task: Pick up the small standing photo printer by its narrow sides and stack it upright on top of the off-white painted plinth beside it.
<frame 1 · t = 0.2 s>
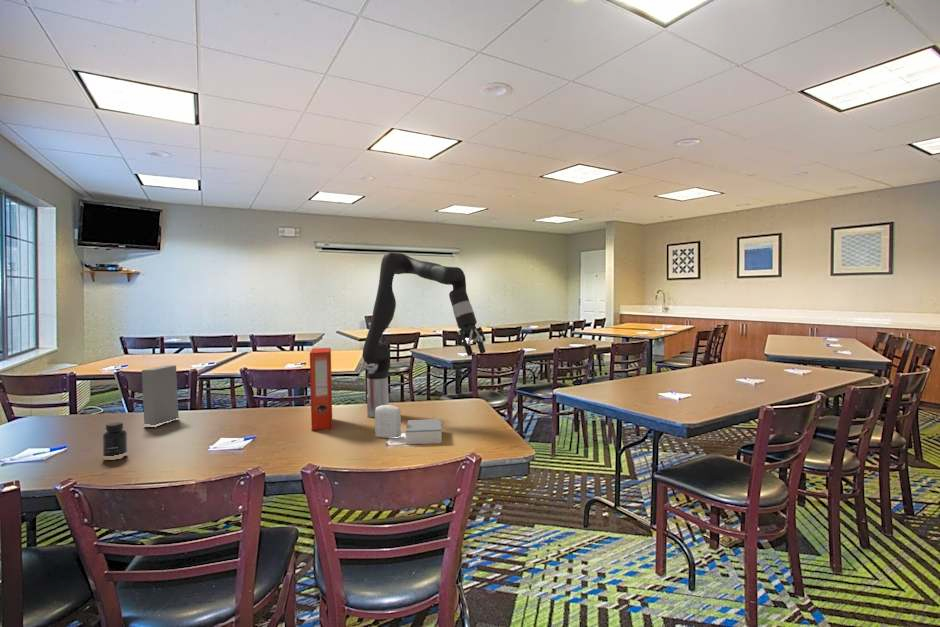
hand: (476, 354, 186), 31 cm above the table, tool tilted 20°, fingers open, 8 cm apart
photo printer: (388, 437, 186), on the table
file binder: (322, 425, 206), on the table
supplement bottle: (115, 458, 168), on the table
grey upright panel: (161, 424, 213), on the table
plinth: (424, 437, 184), on the table
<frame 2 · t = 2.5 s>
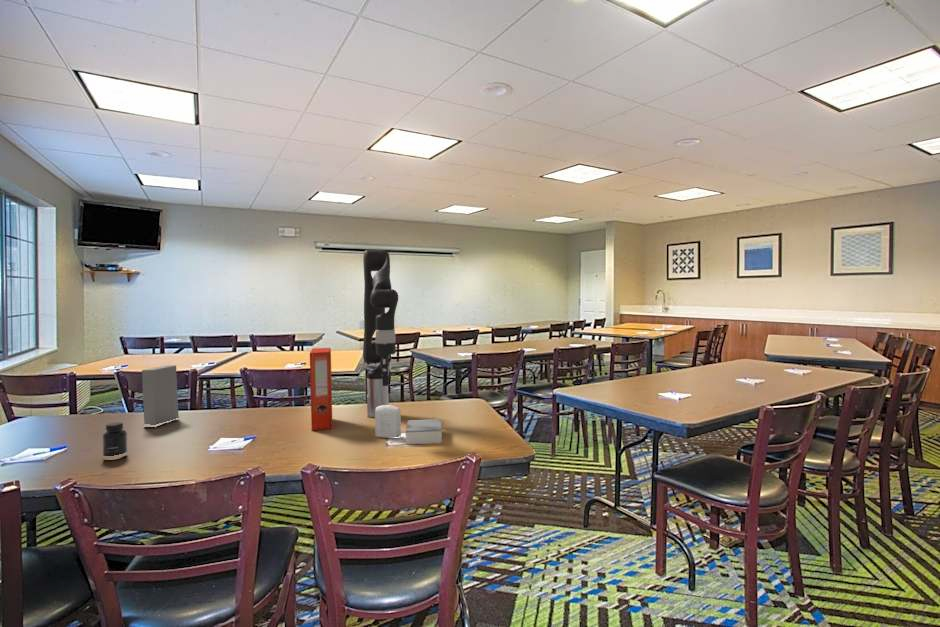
hand: (386, 383, 185), 21 cm above the table, tool pointing down, fingers open, 8 cm apart
nothing on the table moved.
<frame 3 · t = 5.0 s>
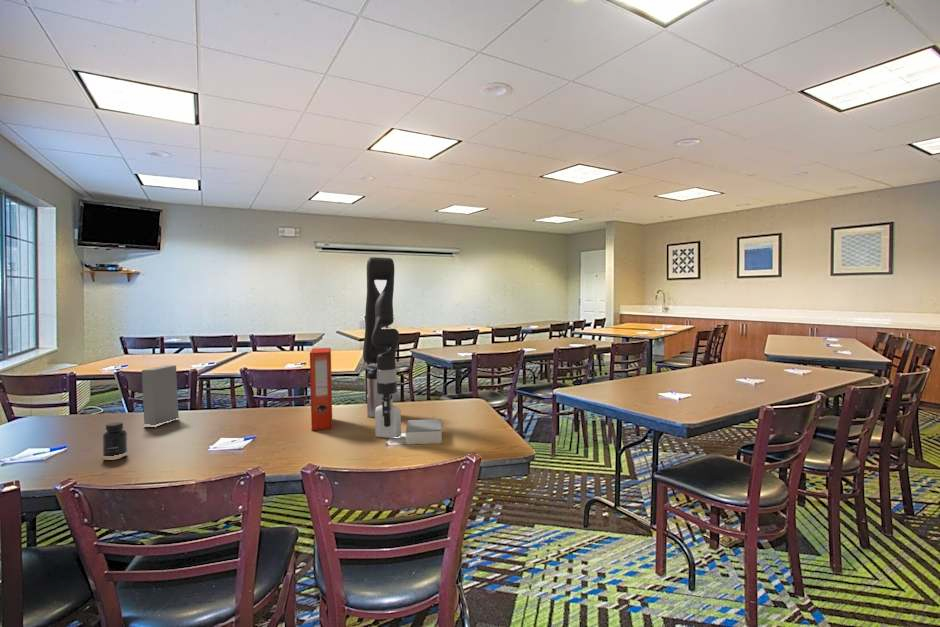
hand: (388, 424, 186), 5 cm above the table, tool pointing down, fingers closed on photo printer, 5 cm apart
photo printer: (388, 437, 186), on the table, touching gripper
everything else where it was.
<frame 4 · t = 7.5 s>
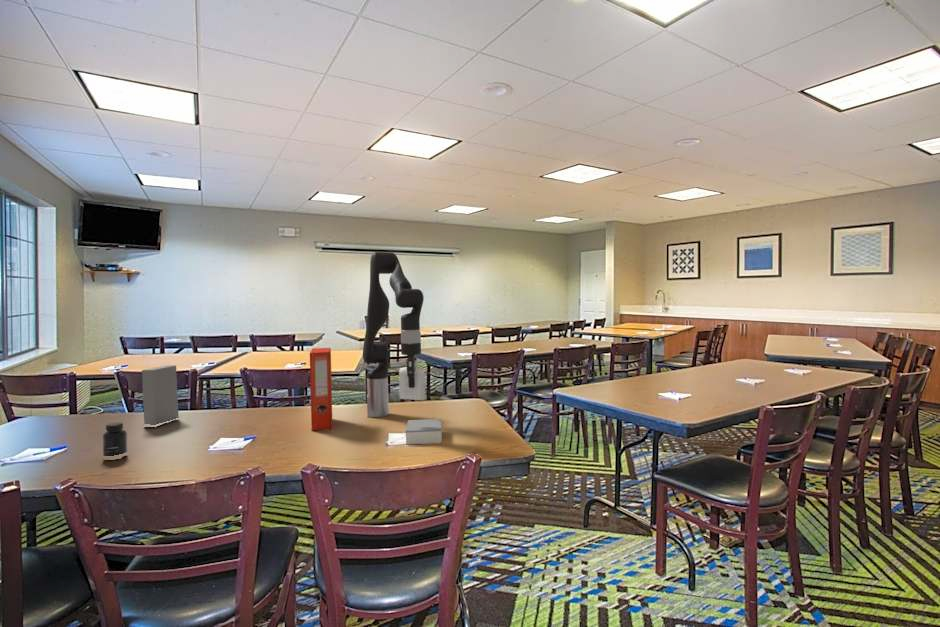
hand: (412, 385, 183), 20 cm above the table, tool pointing down, fingers closed on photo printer, 5 cm apart
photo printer: (412, 399, 183), point 15 cm above the table, touching gripper
everything else where it was.
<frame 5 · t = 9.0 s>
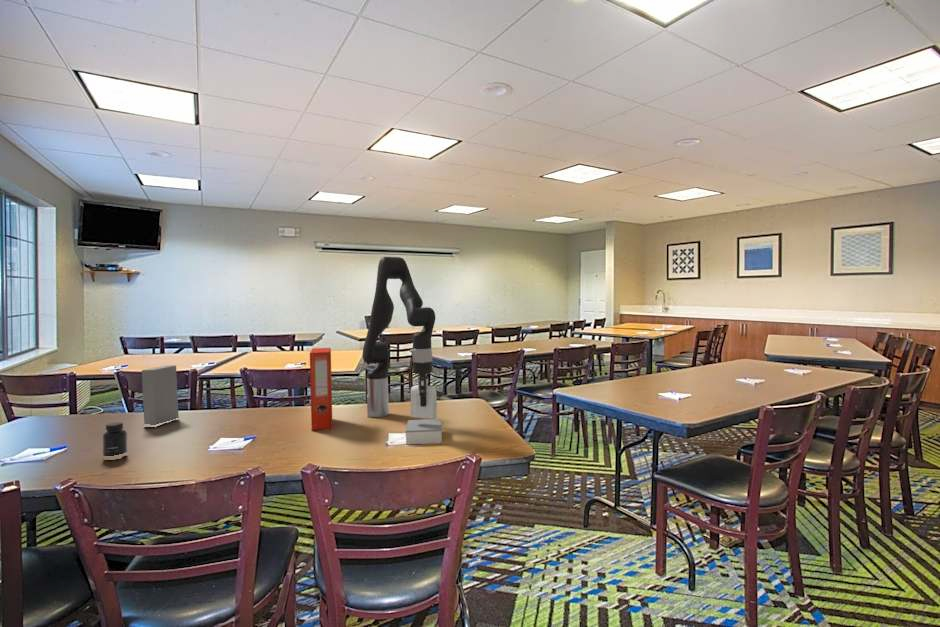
hand: (423, 404, 184), 13 cm above the table, tool pointing down, fingers closed on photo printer, 5 cm apart
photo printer: (424, 417, 184), point 8 cm above the table, touching gripper
everything else where it was.
when the fingers open (11 cm above the table, at t = 10.2 s): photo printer drops 1 cm, resting on plinth.
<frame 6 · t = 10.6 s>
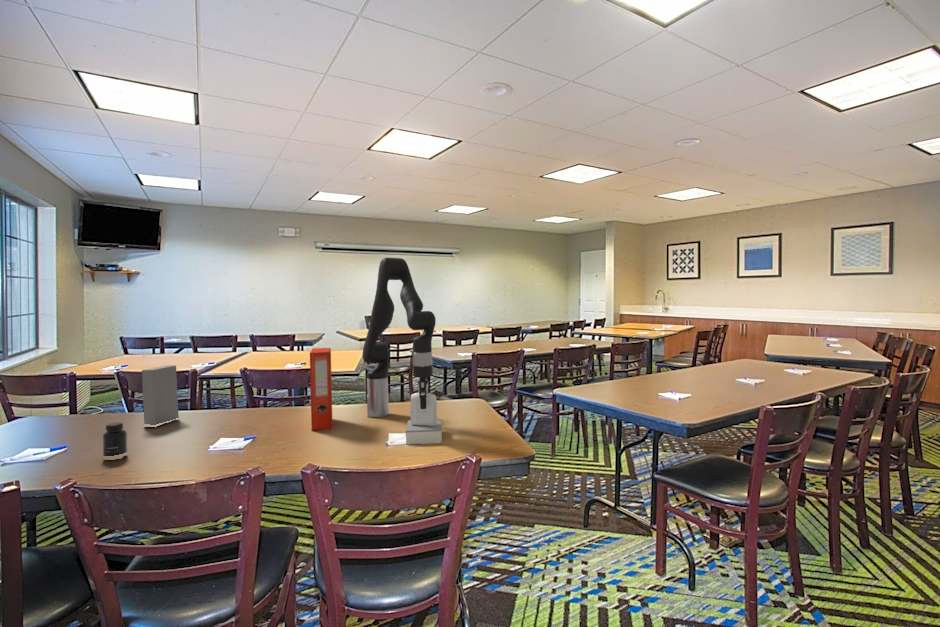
hand: (423, 406, 184), 12 cm above the table, tool pointing down, fingers open, 8 cm apart
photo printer: (424, 425, 184), point 5 cm above the table, touching plinth
everything else where it was.
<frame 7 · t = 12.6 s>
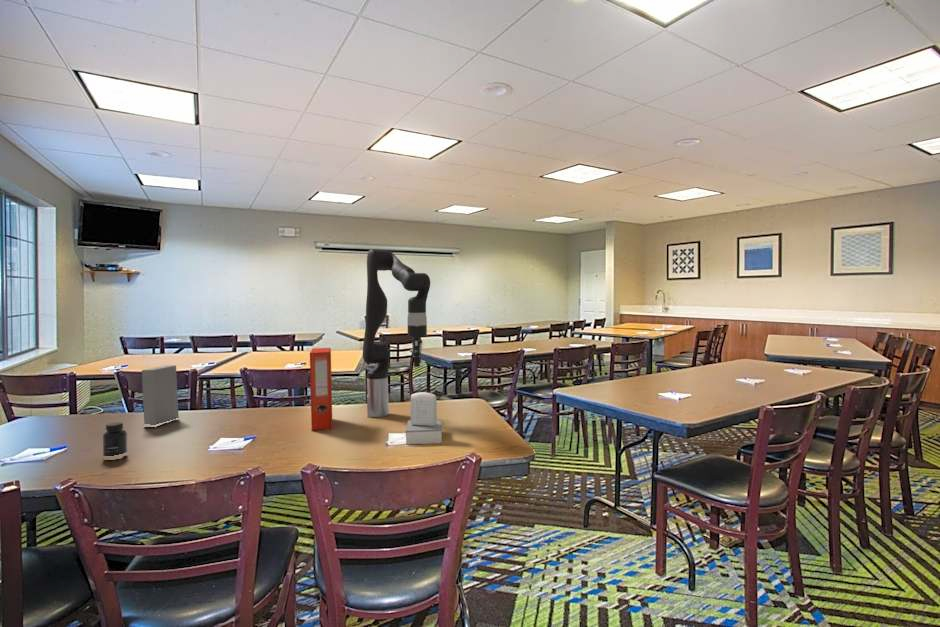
hand: (417, 364, 191), 27 cm above the table, tool pointing down, fingers open, 8 cm apart
nothing on the table moved.
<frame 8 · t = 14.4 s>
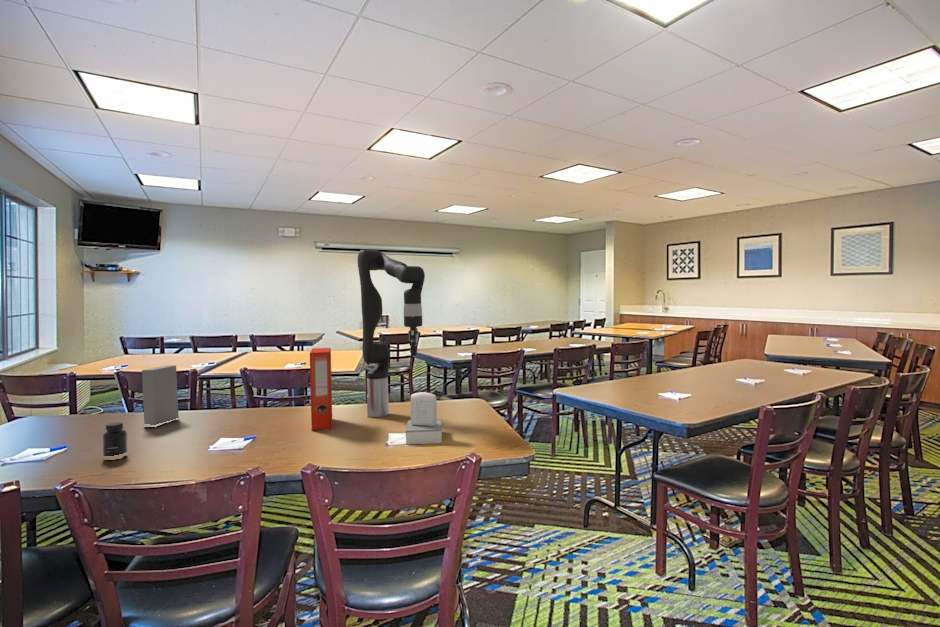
hand: (414, 354, 199), 30 cm above the table, tool pointing down, fingers open, 8 cm apart
nothing on the table moved.
at the end: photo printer inside the target area on the plinth (0.1 cm from its centre), point 4.8 cm above the plinth's base; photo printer tilted 0°; the gripper is holding nothing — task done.
